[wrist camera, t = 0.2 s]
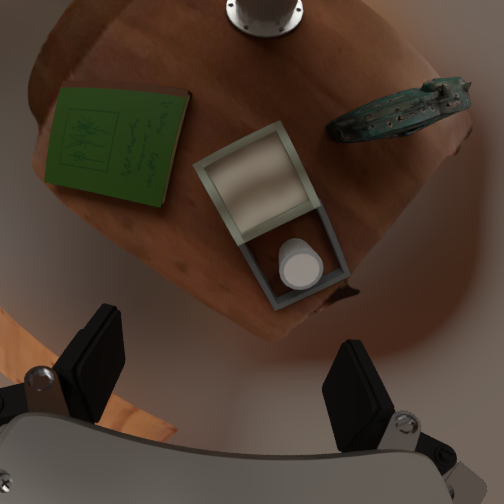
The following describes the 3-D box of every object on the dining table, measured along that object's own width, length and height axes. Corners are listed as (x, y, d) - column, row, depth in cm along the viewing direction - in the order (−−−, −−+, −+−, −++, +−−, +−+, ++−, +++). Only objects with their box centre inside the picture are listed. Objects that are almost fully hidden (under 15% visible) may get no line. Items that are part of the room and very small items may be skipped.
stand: (204, 160, 43) (192, 164, 33) (272, 126, 41) (280, 120, 31) (239, 224, 47) (237, 246, 37) (304, 192, 45) (321, 205, 35)
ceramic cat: (408, 84, 38) (482, 68, 19) (421, 117, 40) (498, 115, 21) (316, 118, 41) (366, 102, 22) (333, 154, 43) (391, 163, 24)
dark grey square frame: (235, 235, 48) (235, 240, 45) (316, 196, 45) (320, 199, 43) (273, 303, 53) (275, 311, 50) (346, 269, 50) (351, 275, 48)
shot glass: (319, 260, 50) (329, 278, 43) (285, 277, 51) (290, 297, 44) (304, 227, 47) (313, 241, 41) (268, 245, 48) (271, 262, 42)
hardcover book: (193, 94, 39) (188, 90, 36) (166, 202, 46) (160, 207, 42) (70, 83, 36) (59, 81, 33) (52, 178, 43) (41, 181, 39)
